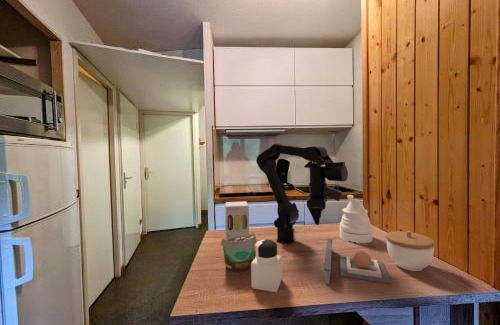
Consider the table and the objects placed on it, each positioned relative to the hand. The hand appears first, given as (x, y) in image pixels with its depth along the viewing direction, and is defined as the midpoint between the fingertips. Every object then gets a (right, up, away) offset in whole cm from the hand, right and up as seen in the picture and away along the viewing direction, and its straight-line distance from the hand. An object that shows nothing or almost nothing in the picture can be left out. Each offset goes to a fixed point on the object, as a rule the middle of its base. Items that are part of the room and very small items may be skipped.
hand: (318, 221), depth 87 cm
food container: (-28, -12, -12) cm, 33 cm away
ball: (+9, -8, -15) cm, 20 cm away
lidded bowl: (+25, -11, -13) cm, 30 cm away
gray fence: (0, -11, -11) cm, 16 cm away
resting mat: (+9, -11, -15) cm, 21 cm away
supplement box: (-31, -12, +9) cm, 34 cm away
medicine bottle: (-21, -13, -21) cm, 32 cm away
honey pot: (+20, -10, +12) cm, 25 cm away
